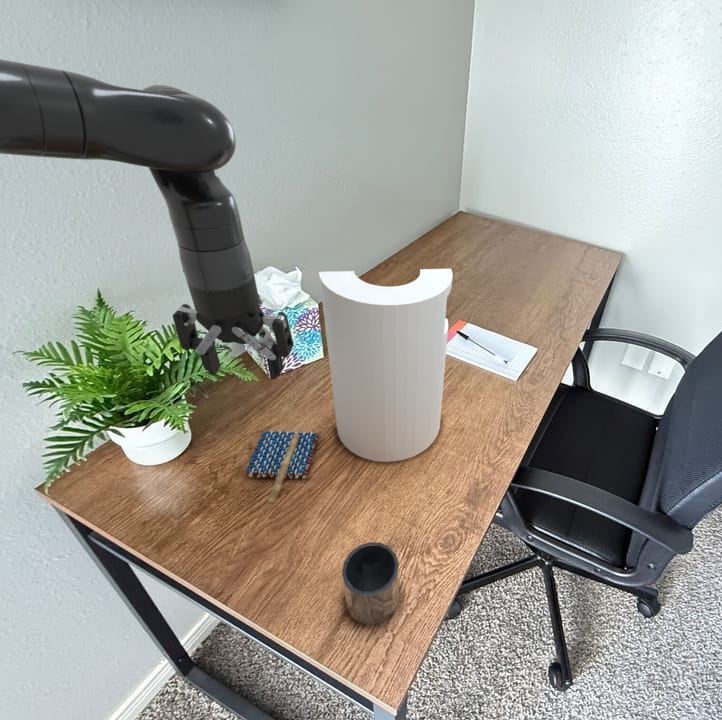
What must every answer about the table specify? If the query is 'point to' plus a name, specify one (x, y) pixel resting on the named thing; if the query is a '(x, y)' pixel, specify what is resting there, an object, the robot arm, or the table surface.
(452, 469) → the table surface
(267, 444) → the woven mat
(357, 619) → the cup
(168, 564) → the table surface
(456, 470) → the table surface
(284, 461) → the stirrer
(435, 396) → the white curved half cylinder
